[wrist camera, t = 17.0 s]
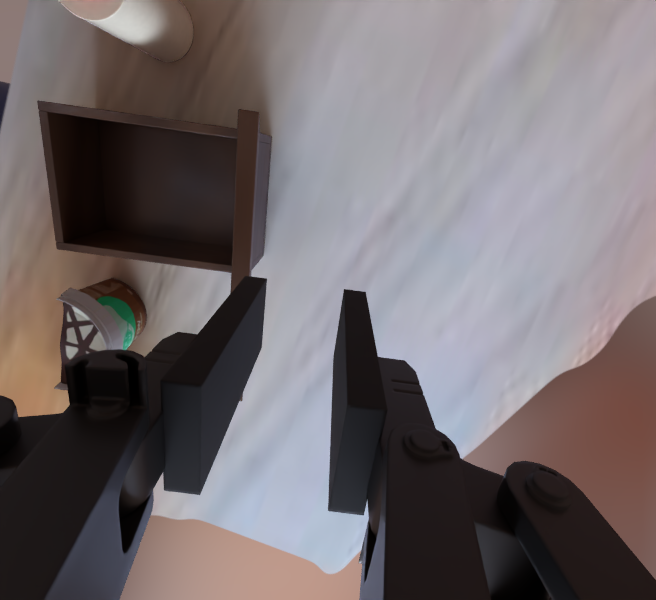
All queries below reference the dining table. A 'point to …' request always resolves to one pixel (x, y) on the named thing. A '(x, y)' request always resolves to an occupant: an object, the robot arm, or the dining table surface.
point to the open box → (146, 186)
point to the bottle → (141, 24)
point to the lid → (245, 195)
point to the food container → (99, 320)
